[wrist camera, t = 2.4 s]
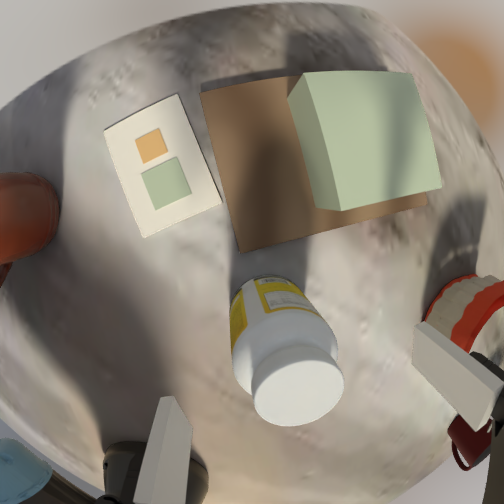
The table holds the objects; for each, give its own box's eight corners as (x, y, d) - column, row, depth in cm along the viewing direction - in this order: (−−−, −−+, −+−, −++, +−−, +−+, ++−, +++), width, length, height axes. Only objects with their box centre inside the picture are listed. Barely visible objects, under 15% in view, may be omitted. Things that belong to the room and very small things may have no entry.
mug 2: (456, 438, 34) (479, 466, 24) (430, 450, 33) (454, 483, 23) (482, 397, 32) (512, 425, 21) (458, 409, 31) (490, 442, 20)
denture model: (422, 272, 24) (475, 296, 16) (476, 267, 25) (521, 285, 17) (399, 372, 27) (434, 410, 19) (454, 354, 28) (488, 382, 20)
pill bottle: (239, 348, 24) (250, 447, 12) (220, 283, 22) (216, 364, 11) (308, 330, 24) (360, 415, 13) (296, 263, 23) (358, 325, 11)
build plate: (239, 250, 22) (240, 253, 21) (200, 98, 19) (199, 93, 18) (419, 203, 23) (427, 204, 21) (387, 77, 20) (393, 73, 19)
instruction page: (144, 238, 21) (143, 238, 21) (104, 132, 19) (102, 131, 19) (222, 202, 21) (222, 202, 21) (177, 94, 19) (177, 93, 19)
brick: (315, 207, 21) (341, 211, 16) (286, 98, 19) (303, 72, 14) (405, 187, 21) (442, 187, 16) (380, 91, 19) (411, 73, 14)
